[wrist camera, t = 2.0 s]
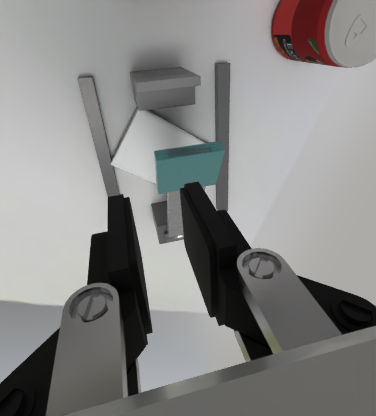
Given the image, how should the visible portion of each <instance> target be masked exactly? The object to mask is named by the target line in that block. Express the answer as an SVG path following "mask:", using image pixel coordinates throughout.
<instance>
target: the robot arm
mask: <svg viewBox="0 0 376 416" xmlns="http://www.w3.org/2000/svg"><path fill="white" fill-rule="evenodd" d="M180 200H181V211H182V222H183V233H184V243H185V248H186V251H187V254H188V257H189V260H190V263H191V265H192V268H193V271H194V274H195V277H196V279H197V282H198V285H199V288H200V291H201V293H202V296H203V299H204V302H205V305H206V307H207V310H208V313H209V315H210V317H216V319H217V322H218V325H219V326H221V325H224V324H225V326H227V327H230V328H231V329H234V332H235V336H236V339H237V341H238V343H239V346H240V348H241V351H242V353H243V356H244V358H245V360H246V362H245V363H242V364H239V365H235V366H232V367H228V368H225V369H221V370H218V371H214V372H211V373H207V374H204V375H200V376H197V377H194V378H190V379H187V380H183V381H180V382H177V383H173V384H169V385H166V386H162V387H159V388H156V389H152V390H149V391H146V392H142V393H141V386H140V377H139V365H138V359H137V358H138V356H139V355H140V354H141V352H142V351H143V350H144V348H145V347H146V345H147V344H148V342H147V334H149V333H152V324H151V318H150V311H149V304H148V297H147V290H146V283H145V277H144V270H143V263H142V256H141V251H140V246H139V241H138V237H137V232H136V227H135V222H134V217H133V213H132V208H131V203H130V198H129V197H126V198H124V196H123V194H122V195H116V196H110V197H108V232H102V233H97V234H93V235H92V237H91V247H90V258H89V270H88V281H87V286H84V287H82V288H80V289H79V290H77V291H76V292H75V293H73V294H72V295H71V296H70V297H69V299H68V300H67V301H66V303H65V305H64V308H63V312H62V319H61V325H60V328H59V329H58V330H57V331H56V332H55V333H53V334H52V335H51V336H50V337H49V338H48V339H47V340H46V341H45V342H44V343H43V344H42V345H41V346H40V347H39V348H37V349H36V350H35V351H34V352H33V353H32V354H31V355H30V356H29V357H28V358H27V359H26V360H25V361H24V362H23V363H22V364H20V365H19V366H18V367H17V368H16V369H15V370H14V371H13V372H12V373H11V374H10V375H9V376H8V377H7V378H6V379H4V380H3V381H2V382H1V384H0V416H376V306H374V305H373V304H372V303H370V302H369V301H367V300H366V299H364V298H361V297H359V296H356V295H354V294H351V293H348V292H345V291H342V290H339V289H336V288H333V287H330V286H327V285H324V284H321V283H318V282H315V281H312V280H309V279H306V278H303V277H301V276H298V275H296V274H295V273H294V272H293V270H292V269H291V268H290V266H289V265H288V264H287V262H286V261H285V260H284V259H283V258H282V257H281V256H280V255H279V254H277V253H275V252H273V251H271V250H267V249H261V248H255V249H251V247H250V246H249V244H248V243H247V241H246V240H245V238H244V237H243V235H242V234H241V232H240V231H239V229H238V228H237V226H236V225H235V223H234V222H233V220H232V219H231V217H230V216H229V214H228V213H227V211H226V210H224V209H223V210H218V211H216V209H215V207H214V206H213V204H212V202H211V201H210V199H209V198H208V196H207V194H206V193H205V191H204V189H203V188H202V186H201V184H200V183H199V182H192V183H186V184H184V188H180Z"/></svg>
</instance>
